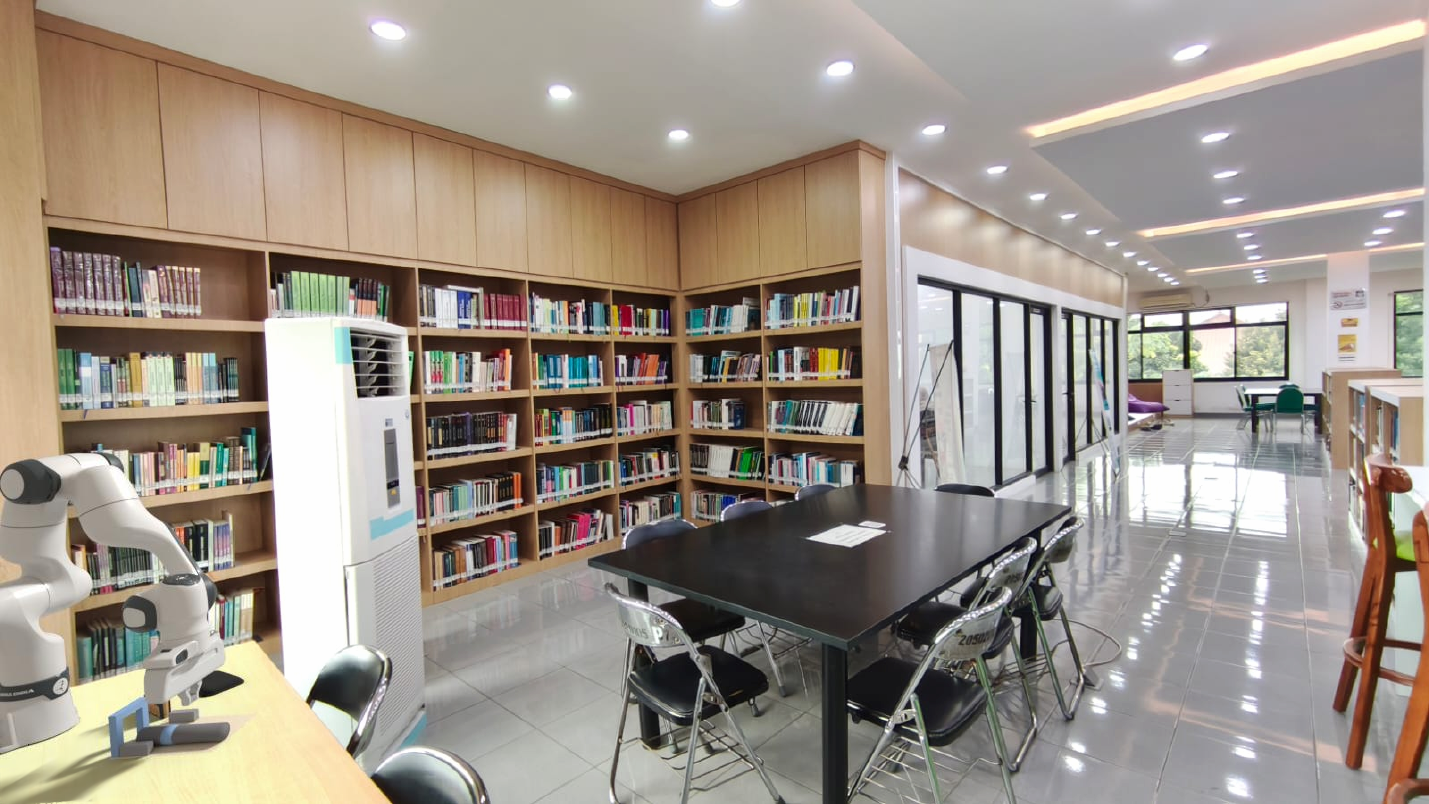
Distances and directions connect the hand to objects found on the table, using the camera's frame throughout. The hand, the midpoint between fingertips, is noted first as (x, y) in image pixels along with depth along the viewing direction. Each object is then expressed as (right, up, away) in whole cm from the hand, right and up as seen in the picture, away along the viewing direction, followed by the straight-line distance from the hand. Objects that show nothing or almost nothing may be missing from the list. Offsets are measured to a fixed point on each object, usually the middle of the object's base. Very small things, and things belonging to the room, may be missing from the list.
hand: (190, 702), depth 146 cm
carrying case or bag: (-18, -10, +28) cm, 35 cm away
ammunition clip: (-20, -11, +14) cm, 27 cm away
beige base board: (-4, -11, +4) cm, 12 cm away
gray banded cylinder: (-2, -10, 0) cm, 10 cm away
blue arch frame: (-13, -11, -1) cm, 17 cm away
